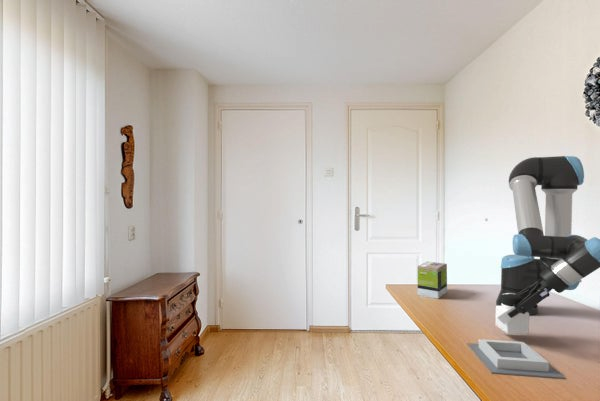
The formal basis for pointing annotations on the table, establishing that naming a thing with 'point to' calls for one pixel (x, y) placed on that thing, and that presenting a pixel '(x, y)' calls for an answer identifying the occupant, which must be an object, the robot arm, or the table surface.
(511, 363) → the collar plate
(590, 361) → the table surface
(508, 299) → the medicine bottle
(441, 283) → the tea box
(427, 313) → the table surface
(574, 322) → the table surface
